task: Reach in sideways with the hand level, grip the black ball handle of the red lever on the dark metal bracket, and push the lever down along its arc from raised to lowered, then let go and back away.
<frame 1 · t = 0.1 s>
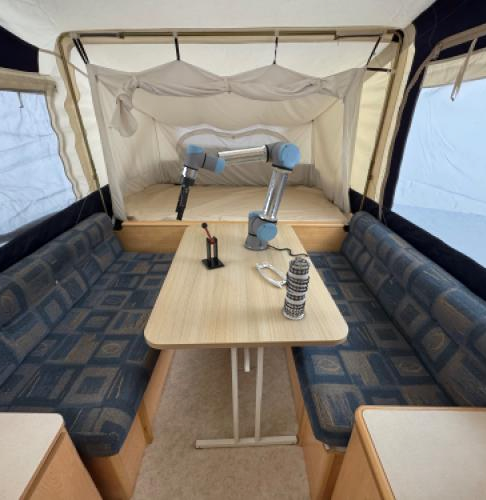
hand: (178, 216, 140), 28 cm above the table, tool tilted 20°, fingers open, 13 cm apart
door handle: (271, 276, 140), on the table
lever: (207, 232, 148), point 17 cm above the table, hinge at 28.0°
bracket: (212, 263, 151), on the table
decorative candle: (293, 313, 112), on the table
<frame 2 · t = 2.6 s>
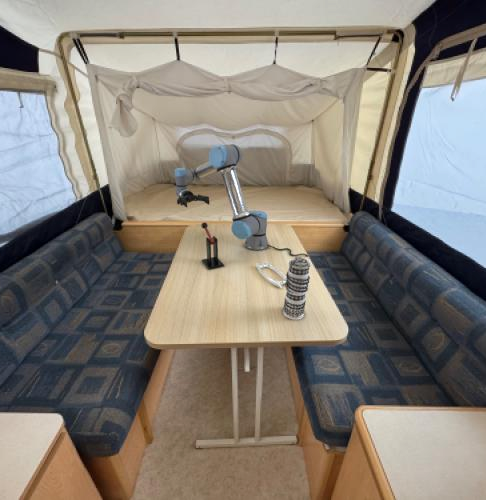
hand: (197, 203, 154), 30 cm above the table, tool horizontal, fingers open, 13 cm apart
nothing on the table moved.
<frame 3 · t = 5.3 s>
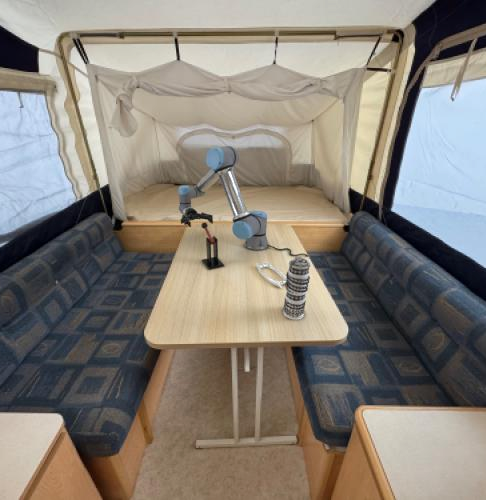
hand: (201, 223, 155), 20 cm above the table, tool horizontal, fingers open, 13 cm apart
nothing on the table moved.
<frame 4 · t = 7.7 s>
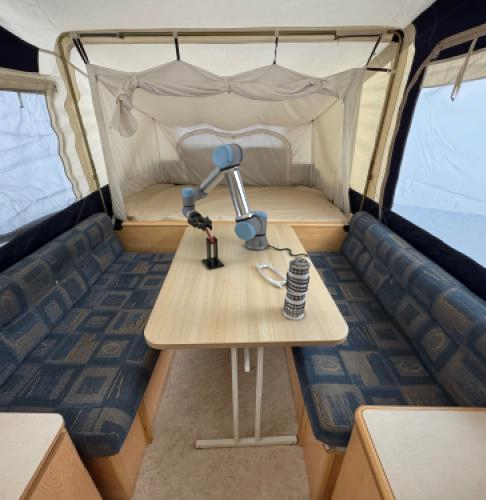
hand: (207, 228, 147), 20 cm above the table, tool horizontal, fingers closed on lever, 4 cm apart
lever: (207, 232, 148), point 17 cm above the table, hinge at 28.0°, touching gripper
everything else where it was.
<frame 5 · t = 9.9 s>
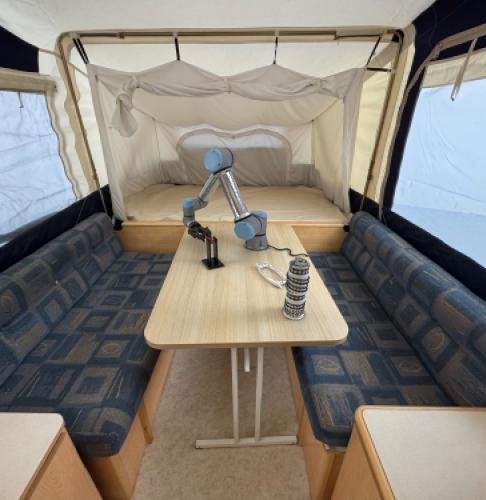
hand: (207, 239, 151), 13 cm above the table, tool horizontal, fingers closed on lever, 4 cm apart
lever: (207, 238, 150), point 13 cm above the table, hinge at -5.3°, touching gripper
everything else where it was.
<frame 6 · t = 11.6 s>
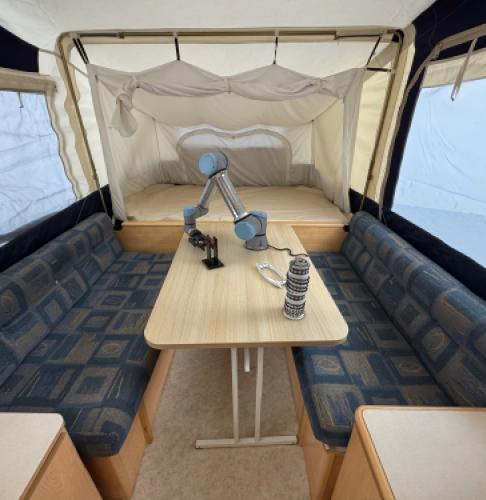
hand: (208, 248, 152), 8 cm above the table, tool horizontal, fingers open, 5 cm apart
lever: (208, 242, 151), point 11 cm above the table, hinge at -28.1°
everything else where it was.
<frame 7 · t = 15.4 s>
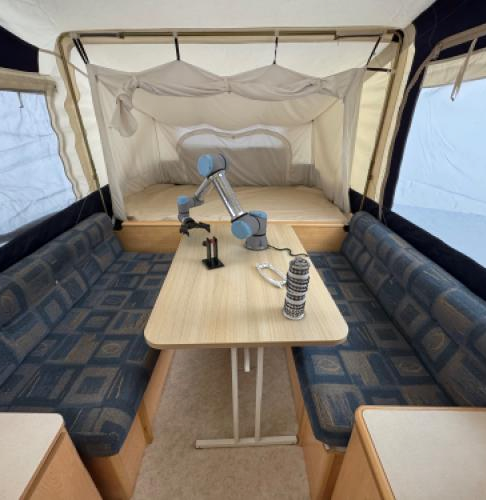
hand: (199, 232, 163), 12 cm above the table, tool horizontal, fingers open, 13 cm apart
nothing on the table moved.
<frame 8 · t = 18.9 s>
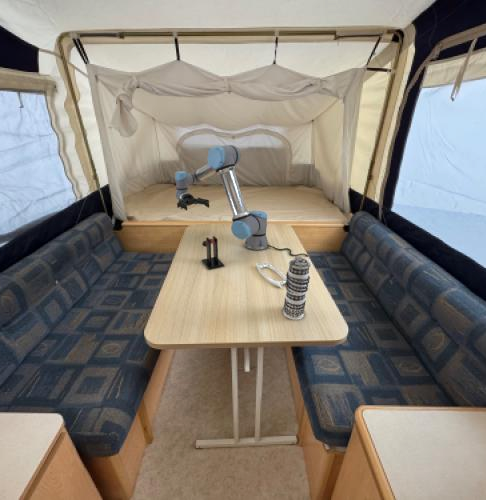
hand: (197, 206, 156), 28 cm above the table, tool horizontal, fingers open, 13 cm apart
nothing on the table moved.
at the end: lever at -28° (first picture: +28°); door handle moved 0.2 cm from its start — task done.
